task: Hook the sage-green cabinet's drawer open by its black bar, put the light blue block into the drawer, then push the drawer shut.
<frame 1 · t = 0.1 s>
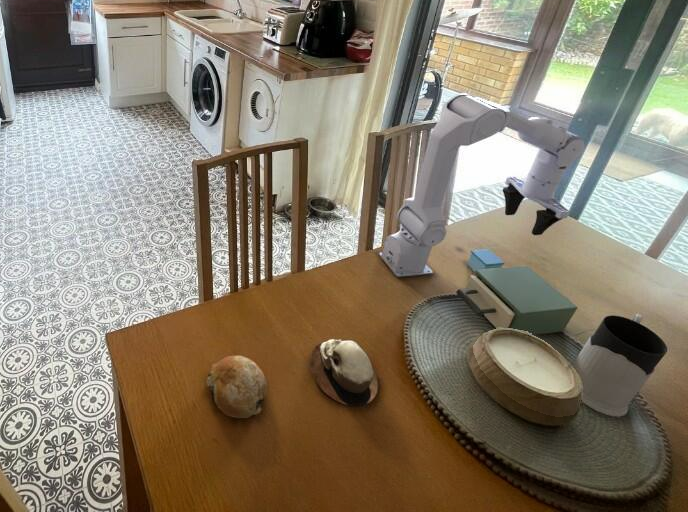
hand: (522, 223, 101), 10 cm above the table, tool pointing down, fingers open, 7 cm apart
light blue block: (481, 269, 101), on the table
drawer: (499, 301, 88), point 4 cm above the table, slide at 0.5 cm
bread roll: (235, 392, 74), on the table
cabinet: (512, 311, 90), on the table
black and white mug: (597, 382, 76), on the table
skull: (342, 373, 77), on the table
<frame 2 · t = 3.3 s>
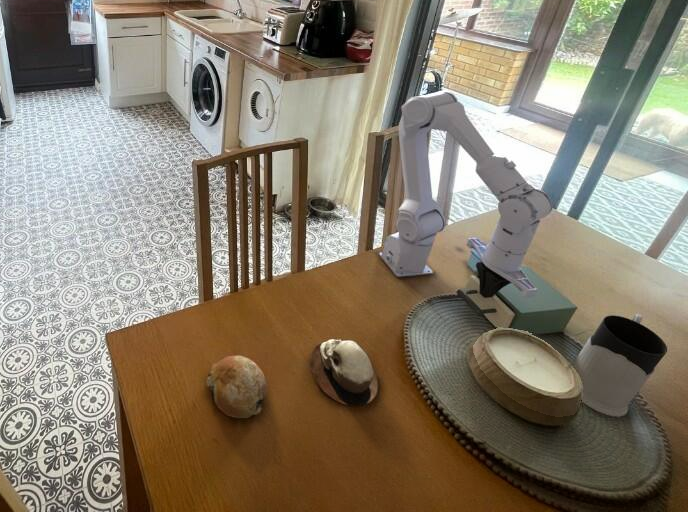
hand: (486, 295, 86), 6 cm above the table, tool pointing down, fingers closed, pressing on drawer
drawer: (499, 301, 88), point 4 cm above the table, slide at 0.4 cm, touching gripper
everything else where it was.
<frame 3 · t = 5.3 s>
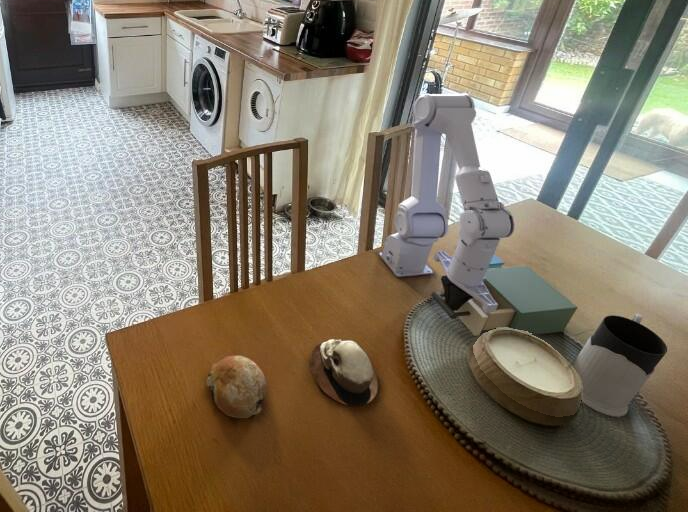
hand: (451, 308, 87), 3 cm above the table, tool pointing down, fingers closed, pressing on drawer
drawer: (474, 304, 87), point 4 cm above the table, slide at 6.4 cm, touching gripper
everything else where it was.
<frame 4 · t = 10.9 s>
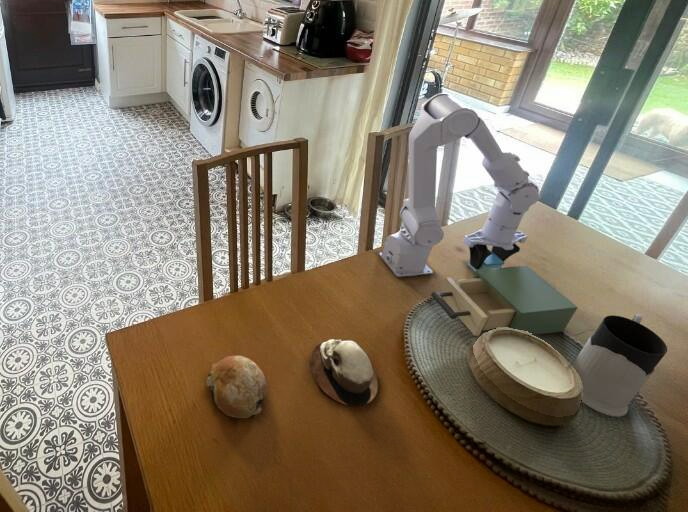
hand: (483, 265, 100), 1 cm above the table, tool pointing down, fingers closed on light blue block, 4 cm apart
light blue block: (481, 269, 101), on the table, touching gripper
drawer: (474, 304, 87), point 4 cm above the table, slide at 6.4 cm
everything else where it was.
when the fingers open (8 cm above the table, at t = 26.7 s): light blue block drops 5 cm, resting on drawer.
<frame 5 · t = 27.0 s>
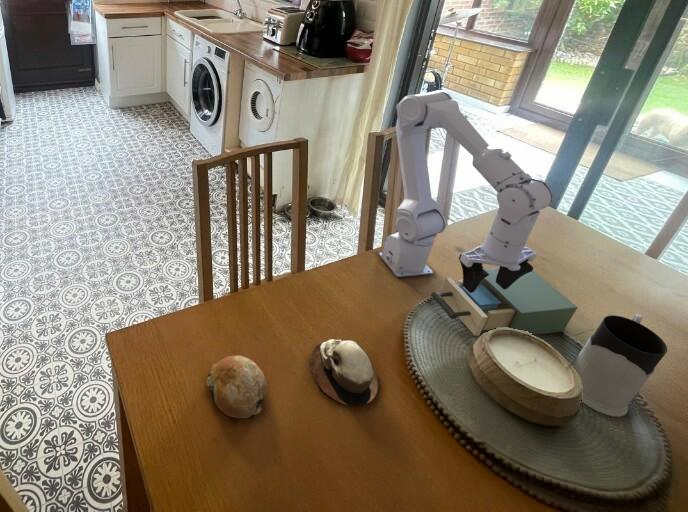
hand: (484, 287, 85), 8 cm above the table, tool pointing down, fingers open, 7 cm apart
light blue block: (475, 309, 88), point 2 cm above the table, touching drawer
drawer: (474, 304, 87), point 4 cm above the table, slide at 6.4 cm, touching light blue block
everything else where it was.
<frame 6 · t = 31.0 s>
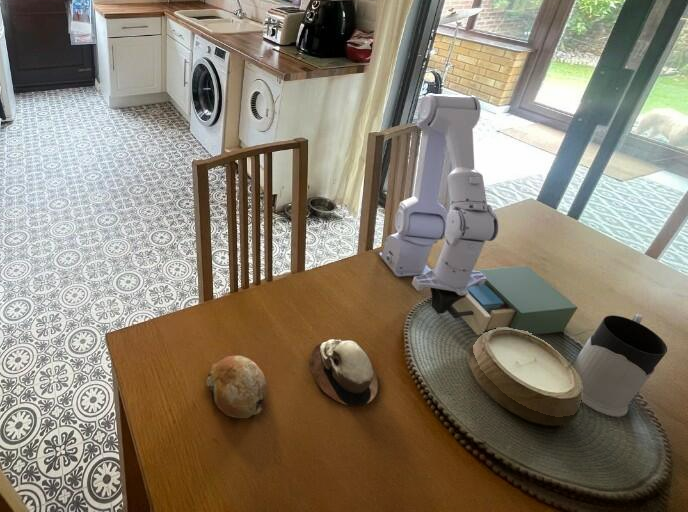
hand: (437, 309, 86), 3 cm above the table, tool pointing down, fingers closed
drawer: (477, 303, 87), point 4 cm above the table, slide at 5.7 cm, touching gripper, light blue block
everything else where it was.
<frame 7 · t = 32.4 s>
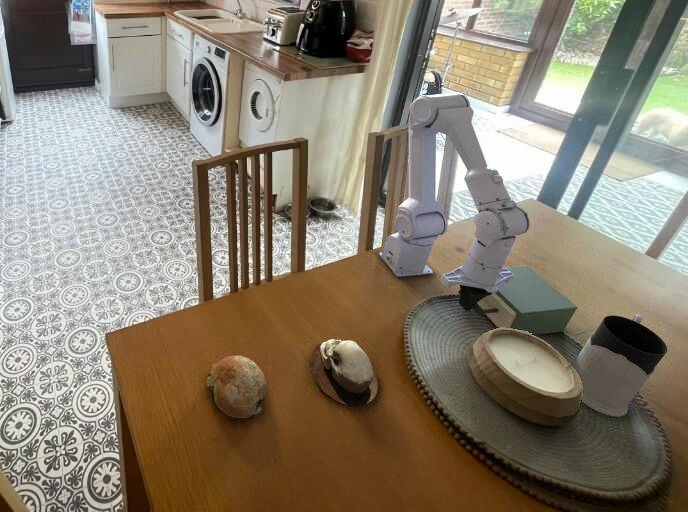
hand: (464, 306, 87), 3 cm above the table, tool pointing down, fingers closed
light blue block: (501, 306, 88), point 2 cm above the table, touching drawer
drawer: (501, 301, 88), point 4 cm above the table, slide at 0.0 cm, touching cabinet, gripper, light blue block
everything else where it was.
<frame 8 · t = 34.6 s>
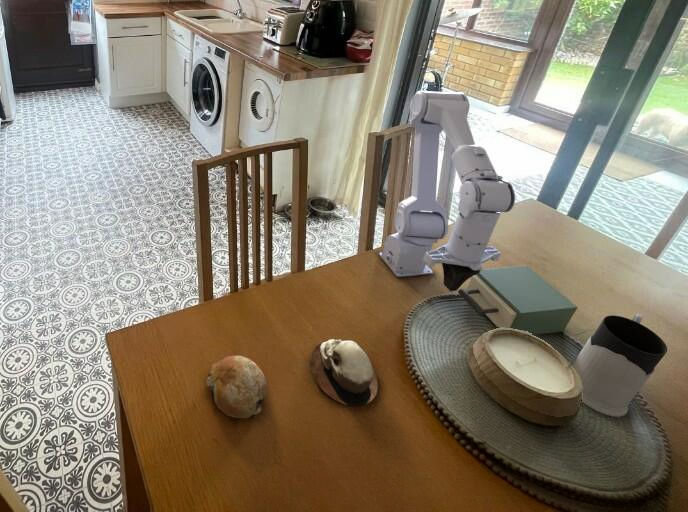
hand: (449, 287, 84), 9 cm above the table, tool pointing down, fingers closed
drawer: (501, 301, 88), point 4 cm above the table, slide at 0.0 cm, touching cabinet, light blue block
everything else where it was.
at the end: drawer pulled out 6.4 cm at the most during the clip, back to where it started at the end; light blue block inside the target area in the cabinet (3.4 cm from its centre), point 2.0 cm above the cabinet's base; drawer slide at 0.0 cm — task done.
